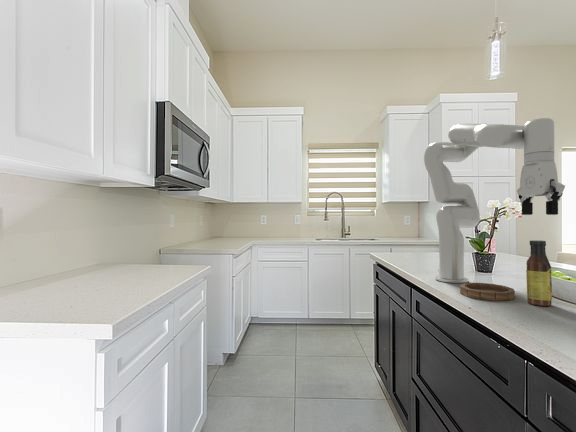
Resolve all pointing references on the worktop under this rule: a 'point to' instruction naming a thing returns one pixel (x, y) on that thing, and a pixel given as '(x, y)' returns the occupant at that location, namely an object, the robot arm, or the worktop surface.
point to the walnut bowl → (487, 291)
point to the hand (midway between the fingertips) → (539, 214)
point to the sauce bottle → (539, 275)
